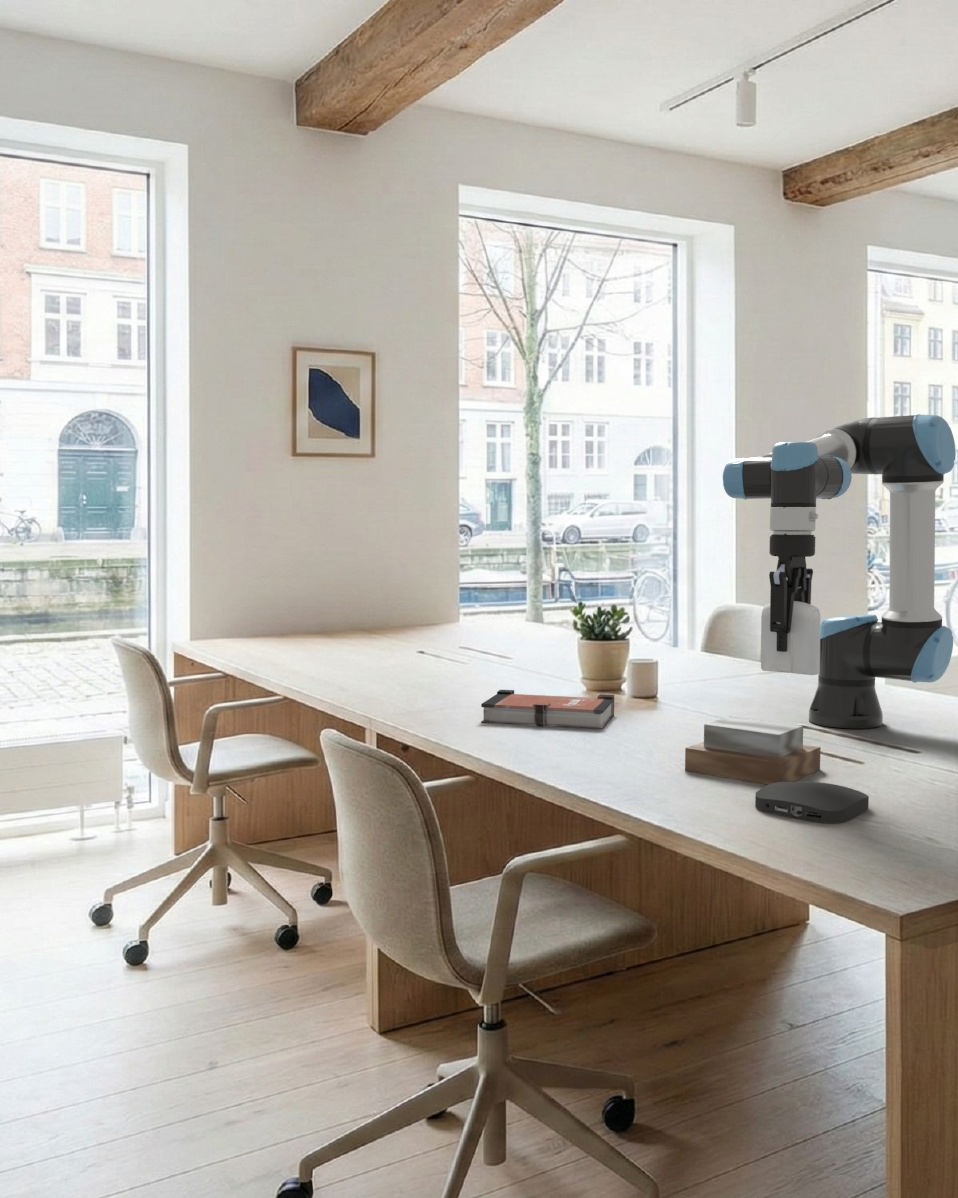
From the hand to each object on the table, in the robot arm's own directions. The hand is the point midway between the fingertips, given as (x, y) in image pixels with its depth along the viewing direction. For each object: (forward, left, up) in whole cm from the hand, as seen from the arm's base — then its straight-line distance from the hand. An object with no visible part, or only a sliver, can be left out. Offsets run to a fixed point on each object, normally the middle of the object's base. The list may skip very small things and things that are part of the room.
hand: (789, 668), depth 191 cm
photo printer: (0, 0, -1) cm, 1 cm away
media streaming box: (+18, +12, -19) cm, 29 cm away
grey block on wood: (+1, -6, -19) cm, 20 cm away
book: (-14, -61, -19) cm, 66 cm away
